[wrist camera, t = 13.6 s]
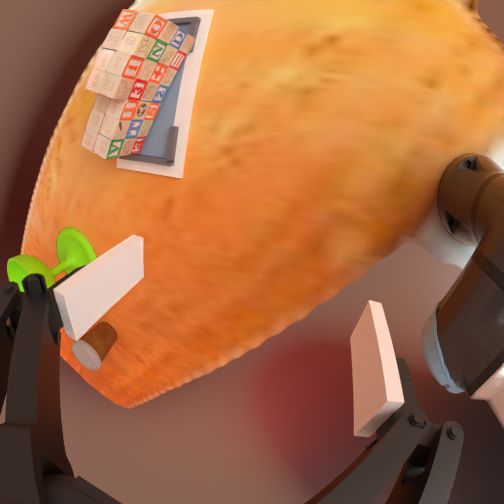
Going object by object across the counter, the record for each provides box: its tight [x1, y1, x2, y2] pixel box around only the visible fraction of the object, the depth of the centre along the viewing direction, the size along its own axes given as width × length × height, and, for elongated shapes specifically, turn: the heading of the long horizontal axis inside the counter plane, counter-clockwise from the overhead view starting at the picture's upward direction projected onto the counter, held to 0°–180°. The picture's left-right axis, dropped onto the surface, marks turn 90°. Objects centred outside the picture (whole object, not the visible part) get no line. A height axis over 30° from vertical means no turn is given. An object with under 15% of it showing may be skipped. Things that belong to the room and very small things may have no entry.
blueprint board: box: [116, 9, 214, 178], centre depth 37 cm, size 14×30×2 cm, turn 170°
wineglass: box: [7, 227, 97, 292], centre depth 50 cm, size 16×16×18 cm
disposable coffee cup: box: [72, 322, 117, 370], centre depth 60 cm, size 10×10×12 cm
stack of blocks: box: [81, 9, 196, 160], centre depth 31 cm, size 21×6×12 cm, turn 151°
